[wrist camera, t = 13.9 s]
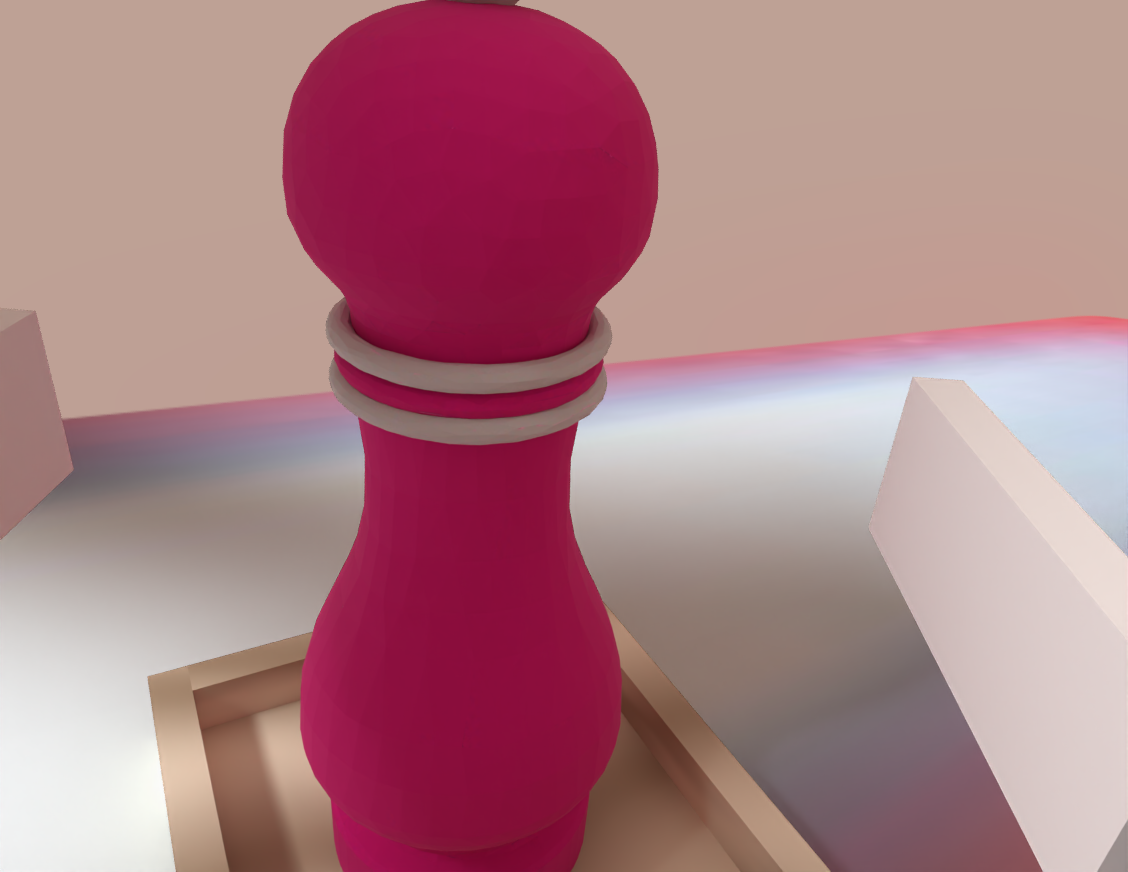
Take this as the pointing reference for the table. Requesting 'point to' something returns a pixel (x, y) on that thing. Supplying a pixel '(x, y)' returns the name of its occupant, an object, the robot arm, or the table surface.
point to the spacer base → (303, 809)
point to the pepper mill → (466, 423)
